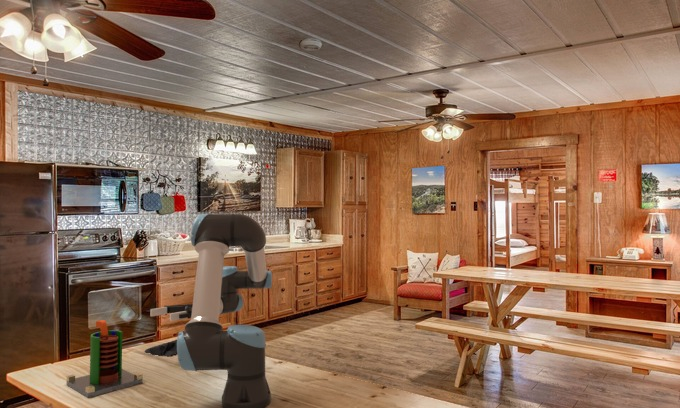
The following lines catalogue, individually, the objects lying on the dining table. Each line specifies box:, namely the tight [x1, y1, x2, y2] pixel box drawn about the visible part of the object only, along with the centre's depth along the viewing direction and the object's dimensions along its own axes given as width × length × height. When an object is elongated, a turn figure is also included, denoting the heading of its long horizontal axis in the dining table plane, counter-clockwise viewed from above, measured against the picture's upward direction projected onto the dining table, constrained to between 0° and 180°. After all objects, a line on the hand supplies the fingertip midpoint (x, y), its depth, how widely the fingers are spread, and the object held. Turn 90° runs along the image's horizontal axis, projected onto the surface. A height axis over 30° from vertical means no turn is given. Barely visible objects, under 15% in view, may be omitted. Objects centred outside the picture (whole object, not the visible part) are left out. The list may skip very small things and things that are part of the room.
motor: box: [89, 319, 123, 384], centre depth 167 cm, size 10×9×20 cm
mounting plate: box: [66, 368, 143, 399], centre depth 167 cm, size 18×18×3 cm
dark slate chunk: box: [144, 339, 177, 357], centre depth 210 cm, size 15×22×5 cm
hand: (160, 315), depth 180 cm, fingers open, 13 cm apart
